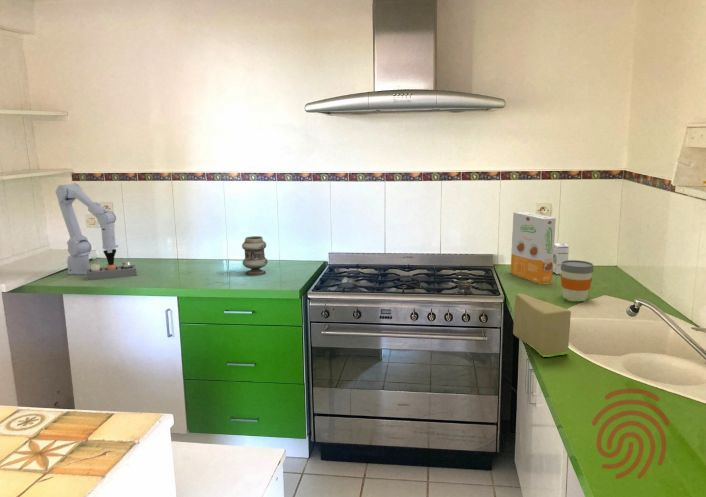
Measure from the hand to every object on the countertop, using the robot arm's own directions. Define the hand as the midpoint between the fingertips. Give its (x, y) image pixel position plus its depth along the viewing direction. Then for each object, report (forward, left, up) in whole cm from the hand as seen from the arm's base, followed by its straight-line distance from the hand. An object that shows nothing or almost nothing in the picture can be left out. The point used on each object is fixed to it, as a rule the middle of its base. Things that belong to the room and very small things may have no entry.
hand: (111, 264), depth 280 cm
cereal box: (+201, +7, -6) cm, 201 cm away
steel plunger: (+6, +3, -3) cm, 8 cm away
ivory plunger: (-6, -3, -3) cm, 8 cm away
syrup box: (+217, +17, -6) cm, 218 cm away
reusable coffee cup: (+212, -26, -6) cm, 214 cm away
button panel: (0, 0, -6) cm, 6 cm away
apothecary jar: (+69, +9, -6) cm, 70 cm away
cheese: (+184, -80, -6) cm, 201 cm away
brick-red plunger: (0, 0, -4) cm, 4 cm away
